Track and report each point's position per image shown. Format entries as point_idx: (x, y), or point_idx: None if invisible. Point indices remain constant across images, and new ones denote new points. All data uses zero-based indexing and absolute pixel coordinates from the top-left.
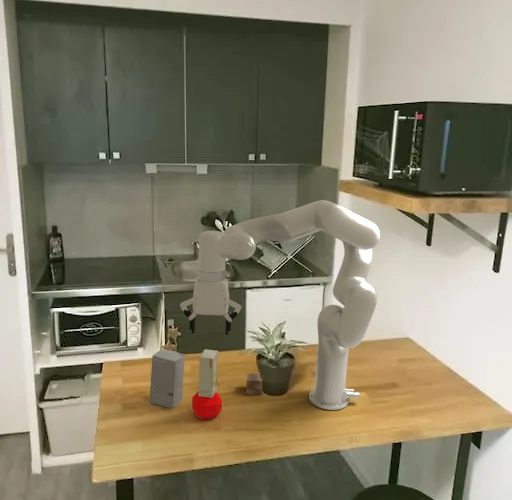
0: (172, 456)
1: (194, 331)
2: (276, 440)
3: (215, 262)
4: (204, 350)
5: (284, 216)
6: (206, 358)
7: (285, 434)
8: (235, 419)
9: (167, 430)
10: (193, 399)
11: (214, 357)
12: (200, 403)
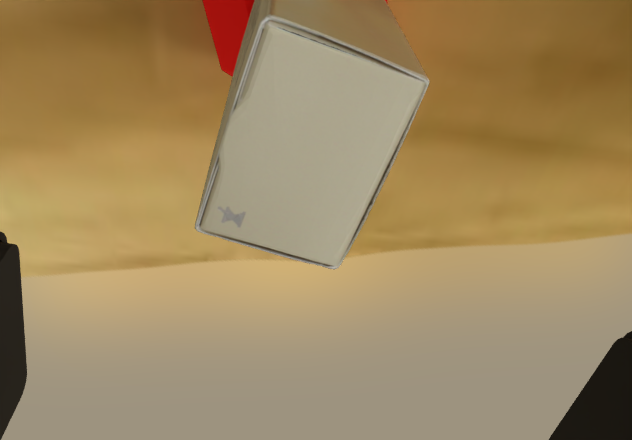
0: (137, 264)
1: (19, 356)
2: (562, 223)
3: None
4: (259, 57)
5: None
6: (265, 251)
7: (621, 191)
8: (444, 47)
9: (92, 99)
10: (206, 13)
11: (351, 234)
12: None
